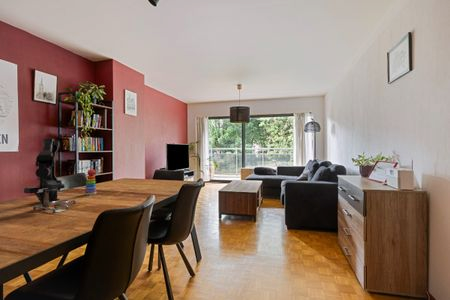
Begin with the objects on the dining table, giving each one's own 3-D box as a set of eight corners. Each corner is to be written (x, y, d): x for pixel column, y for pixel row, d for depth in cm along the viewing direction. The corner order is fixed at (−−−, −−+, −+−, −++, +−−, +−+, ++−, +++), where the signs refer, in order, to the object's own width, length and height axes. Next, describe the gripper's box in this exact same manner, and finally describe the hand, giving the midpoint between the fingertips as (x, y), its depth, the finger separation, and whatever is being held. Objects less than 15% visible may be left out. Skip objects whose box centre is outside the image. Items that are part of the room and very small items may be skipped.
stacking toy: (91, 195, 172) (91, 169, 172) (81, 195, 174) (81, 169, 173) (99, 193, 180) (99, 168, 180) (89, 193, 181) (89, 168, 181)
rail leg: (32, 209, 134) (32, 205, 134) (67, 202, 152) (67, 198, 152) (42, 211, 131) (42, 207, 131) (76, 203, 149) (76, 199, 149)
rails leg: (33, 209, 133) (33, 205, 133) (48, 206, 141) (48, 202, 141) (53, 213, 127) (53, 208, 127) (68, 209, 135) (68, 205, 135)
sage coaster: (51, 211, 130) (51, 211, 130) (60, 209, 135) (60, 208, 135) (57, 212, 128) (57, 212, 128) (67, 210, 133) (67, 209, 133)
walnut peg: (40, 207, 135) (40, 193, 135) (46, 205, 138) (46, 192, 138) (44, 207, 134) (44, 193, 134) (50, 206, 137) (50, 192, 137)
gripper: (36, 178, 124) (36, 208, 124) (71, 174, 141) (71, 201, 142) (23, 177, 128) (23, 206, 128) (58, 173, 145) (58, 199, 146)
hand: (45, 203), depth 136 cm, fingers closed on walnut peg, 3 cm apart
